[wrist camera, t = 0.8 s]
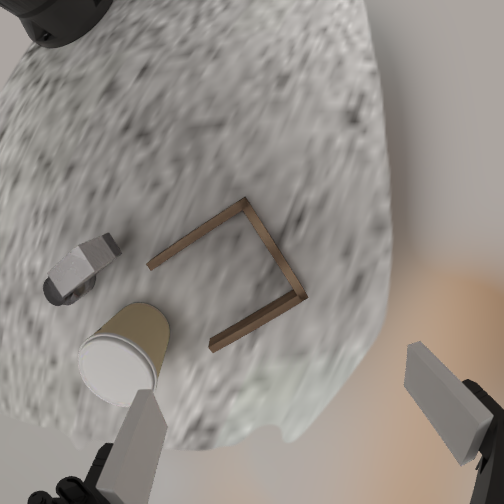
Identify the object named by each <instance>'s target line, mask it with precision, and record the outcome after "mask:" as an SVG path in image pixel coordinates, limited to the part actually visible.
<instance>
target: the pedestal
mask: <svg viewBox="0 0 504 504" xmlns="http://www.w3.org/2000/svg"><path fill="white" fill-rule="evenodd" d="M48 278H49V276H48ZM95 280H96V276H95V275H94V276H93V277H91V278H90V279H89V280H88V281H86V282H85V283H84V284H83V285H81V286H80V287H79V288H78V289H76V290H75V291H74V292H73V295H72V297H71V298H70V299H69V300H68V301H66V302H65V303H64V304H63V305H71V304H73V303H74V302H76V301H77V300H78V299H79V298H81V297H82V296H83V295H85V294H86V293H87V292H89V291H90V290H91V289H92V288H93V287H94V284H95Z"/></svg>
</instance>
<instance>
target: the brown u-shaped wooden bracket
mask: <svg viewBox="0 0 504 504" xmlns="http://www.w3.org/2000/svg"><path fill="white" fill-rule="evenodd" d="M242 210H243V211H244V213H245V214H246V216H247V217H248V219H249V221H250V222H251V224H252V225H253V227H254V228H255V230H256V231H257V233H258V234H259V236H260V238H261V239H262V241H263V242H264V244H265V245H266V247H267V248H268V250H269V252H270V253H271V255H272V256H273V258H274V259H275V261H276V263H277V264H278V266H279V267H280V269H281V270H282V272H283V274H284V275H285V277H286V278H287V280H288V281H289V283H290V285H291V286H292V288H293V290H291V291H290V292H288V293H287V294H285V295H283V296H282V297H280V298H278V299H277V300H275V301H273V302H272V303H270V304H268V305H267V306H265V307H263V308H262V309H260V310H258V311H257V312H255V313H253V314H252V315H250V316H248V317H247V318H245V319H243V320H241V321H240V322H238V323H236V324H235V325H233V326H231V327H229V328H228V329H226V330H224V331H222V332H221V333H219V334H217V335H215V336H214V337H212V338H210V341H209V346H208V348H209V349H210V350H211V352H212V353H214V352H216V351H218V350H220V349H222V348H223V347H225V346H227V345H229V344H231V343H232V342H234V341H236V340H238V339H239V338H241V337H243V336H245V335H247V334H248V333H250V332H252V331H254V330H255V329H257V328H259V327H260V326H262V325H264V324H266V323H267V322H269V321H271V320H272V319H274V318H276V317H277V316H279V315H281V314H283V313H284V312H286V311H288V310H289V309H291V308H292V307H294V306H296V305H297V304H299V303H301V302H302V301H304V300H306V299H307V298H309V297H308V296H307V294H306V292H305V290H304V289H303V287H302V286H301V284H300V282H299V281H298V279H297V278H296V276H295V274H294V273H293V271H292V269H291V268H290V266H289V265H288V263H287V262H286V260H285V258H284V257H283V255H282V254H281V252H280V250H279V249H278V247H277V246H276V244H275V242H274V241H273V239H272V238H271V236H270V235H269V233H268V231H267V230H266V228H265V227H264V225H263V224H262V222H261V220H260V219H259V217H258V216H257V214H256V213H255V211H254V210H253V208H252V206H251V205H250V203H249V202H248V200H247V199H246V197H244V198H242V199H241V200H239V201H238V202H236V203H235V204H233V205H231V206H230V207H228V208H227V209H225V210H224V211H222V212H221V213H219V214H218V215H216V216H215V217H213V218H212V219H210V220H209V221H207V222H206V223H204V224H203V225H201V226H200V227H198V228H197V229H195V230H194V231H192V232H191V233H189V234H188V235H186V236H185V237H183V238H182V239H180V240H179V241H177V242H176V243H174V244H173V245H171V246H170V247H169V248H167V249H166V250H164V251H163V252H161V253H160V254H158V255H157V256H156V257H154V258H153V259H151V260H150V261H149V262H148V263H147V264H146V265H147V266H148V268H149V269H150V270H151V271H152V270H153V269H154V268H156V267H157V266H159V265H160V264H162V263H163V262H165V261H166V260H168V259H169V258H171V257H172V256H174V255H175V254H176V253H178V252H179V251H181V250H182V249H184V248H185V247H187V246H188V245H190V244H191V243H193V242H194V241H196V240H197V239H199V238H200V237H202V236H203V235H205V234H206V233H208V232H209V231H211V230H213V229H214V228H216V227H217V226H219V225H220V224H222V223H223V222H225V221H226V220H228V219H229V218H231V217H233V216H234V215H236V214H237V213H239V212H240V211H242Z"/></svg>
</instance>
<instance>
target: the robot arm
mask: <svg viewBox="0 0 504 504" xmlns="http://www.w3.org/2000/svg"><path fill="white" fill-rule="evenodd" d="M111 3H112V0H0V7H2V8H4V9H6V10H7V11H9V12H11V13H12V14H14V15H16V16H17V17H19V19H20V20H21V23H22V24H23V26H24V28H25V30H26V32H27V34H28V36H29V37H30V38H31V39H32V40H33V41H34V42H36V43H37V44H39V45H40V46H42V47H46V48H56V47H60V46H63V45H66V44H68V43H71V42H73V41H74V40H76V39H78V38H79V37H81V36H82V35H84V34H85V33H86V32H88V31H89V30H90V29H91V28H92V27H93V26H94V25H95V24H96V23H97V22H98V21H99V20H100V19H101V18H102V17H103V15H104V14H105V13H106V11H107V10H108V8H109V6H110V5H111ZM404 387H405V388H406V389H407V391H408V392H409V394H410V395H411V396H412V398H413V399H414V400H415V402H416V403H417V405H418V406H419V407H420V409H421V410H422V412H423V413H424V414H425V416H426V417H427V418H428V420H429V421H430V423H431V424H432V425H433V427H434V428H435V430H436V431H437V433H438V434H439V435H440V436H441V438H442V440H443V441H444V443H445V444H446V446H447V447H448V448H449V450H450V451H451V453H452V454H453V456H454V457H455V459H456V460H457V462H458V463H459V464H460V466H462V465H464V464H466V463H468V462H470V461H472V460H474V459H475V457H476V455H477V453H478V451H480V453H481V454H482V457H481V459H480V461H479V463H478V465H477V467H476V470H478V474H477V478H476V482H475V486H474V491H473V494H472V498H471V501H470V504H504V409H502V407H501V406H500V405H499V404H498V403H497V402H496V401H494V399H493V398H492V397H491V396H489V395H488V394H487V392H485V391H484V390H483V389H482V388H481V387H480V386H479V385H478V384H477V383H476V382H473V381H471V380H469V379H467V380H464V381H462V382H461V381H460V380H459V379H458V378H457V377H456V376H455V375H454V374H453V373H452V372H451V371H450V370H449V369H448V368H447V367H446V366H445V365H444V364H443V363H442V362H441V361H440V360H439V359H438V358H437V357H436V356H435V355H434V354H433V353H432V352H431V351H430V350H429V349H428V348H427V347H426V346H425V345H424V344H423V343H422V342H421V341H419V342H416V343H412V344H409V345H408V349H407V361H406V371H405V380H404ZM167 428H168V426H167V424H166V422H165V419H164V417H163V415H162V413H161V410H160V408H159V406H158V403H157V401H156V398H155V396H154V394H153V391H152V389H140V390H138V391H137V393H136V396H135V398H134V400H133V402H132V404H131V406H130V409H129V411H128V413H127V415H126V417H125V420H124V422H123V424H122V426H121V429H120V431H119V433H118V435H117V438H116V440H115V442H114V444H113V443H105V445H103V446H102V447H101V448H100V449H99V450H98V453H97V455H96V457H95V460H94V461H93V463H92V466H91V468H90V470H89V472H88V474H87V476H86V479H85V481H84V483H83V482H82V480H81V479H79V478H77V477H73V476H69V477H65V478H64V479H62V480H60V481H59V483H58V484H57V486H56V493H57V494H58V495H59V496H60V498H52V497H51V496H50V495H49V494H48V493H47V492H45V491H37V492H34V493H33V494H31V496H30V497H29V499H28V504H148V500H149V496H150V492H151V488H152V484H153V481H154V477H155V473H156V469H157V465H158V461H159V457H160V454H161V450H162V446H163V443H164V439H165V435H166V432H167ZM478 468H479V469H478Z"/></svg>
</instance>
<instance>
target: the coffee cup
mask: <svg viewBox="0 0 504 504" xmlns="http://www.w3.org/2000/svg"><path fill="white" fill-rule="evenodd" d="M169 337H170V328H169V324H168V322H167V319H166V318H165V316H164V315H163V314H162V313H161V312H160V311H159V310H158V309H157V308H155V307H153V306H151V305H149V304H145V303H133V304H130V305H128V306H126V307H125V308H123V309H122V310H121V311H120V312H118V313H117V314H116V315H115V316H114V317H113V318H111V319H110V320H109V321H108V322H107V323H106V324H104V325H103V326H102V327H101V328H100V329H99V330H98V331H97V332H95V333H94V334H93V335H92V336H90V337H89V338H87V339H86V340H85V341H84V342H83V344H82V345H81V347H80V350H79V353H78V368H79V372H80V375H81V377H82V379H83V381H84V382H85V384H86V385H87V386H88V388H89V389H90V390H91V391H92V392H93V393H94V394H95V395H97V396H98V397H99V398H101V399H102V400H104V401H106V402H108V403H110V404H113V405H116V406H121V407H130V406H131V404H132V402H133V400H134V398H135V396H136V393H137V391H138V390H140V389H152V391H153V394H154V392H155V390H156V387H157V381H158V376H159V373H160V370H161V366H162V363H163V359H164V355H165V352H166V348H167V345H168V341H169Z"/></svg>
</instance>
